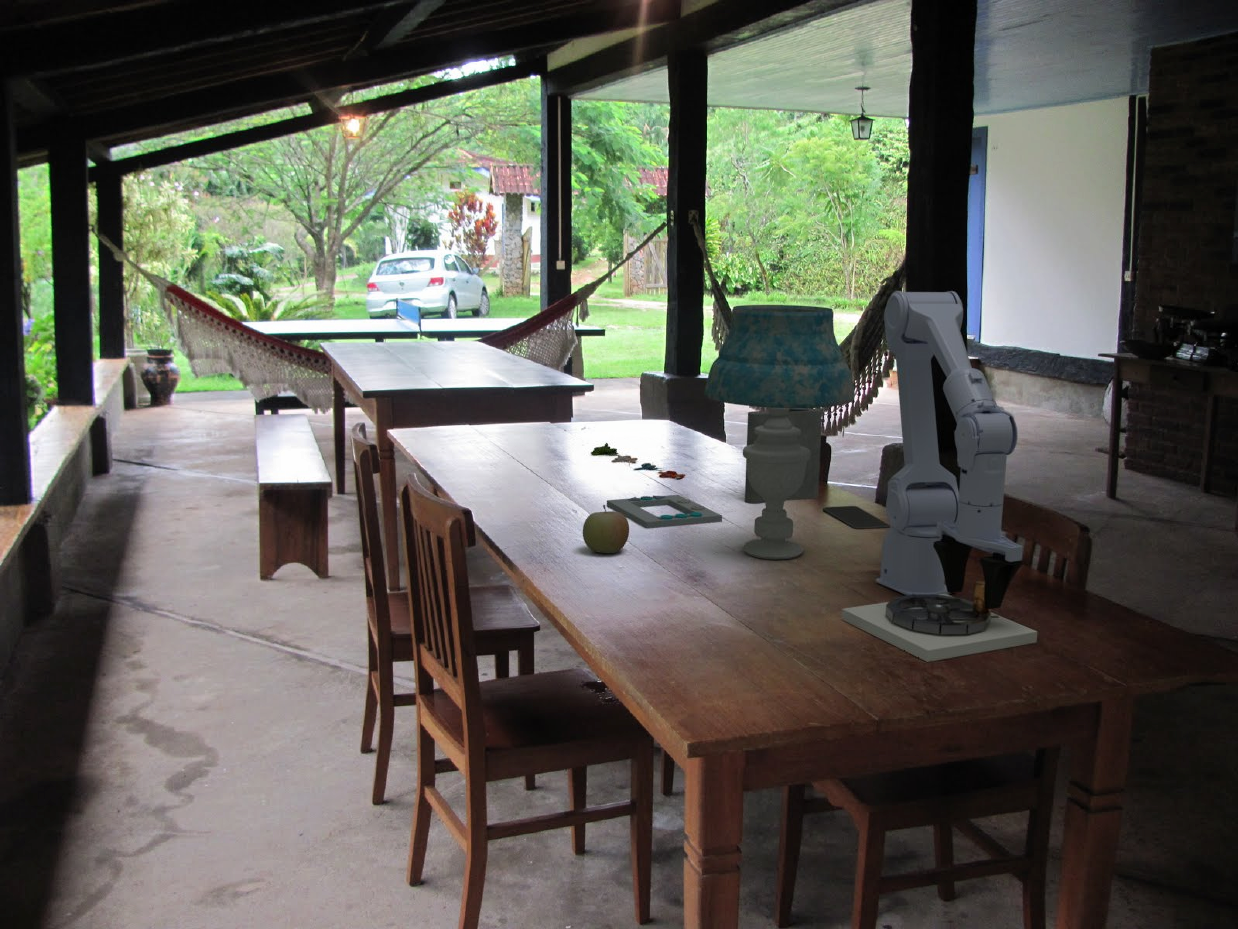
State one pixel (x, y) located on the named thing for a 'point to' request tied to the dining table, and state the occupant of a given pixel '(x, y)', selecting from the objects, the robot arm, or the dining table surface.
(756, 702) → the dining table surface
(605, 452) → the toy spaceship set
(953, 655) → the base plate
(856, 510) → the smartphone
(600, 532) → the fruit
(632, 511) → the picture frame
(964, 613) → the handwheel
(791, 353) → the table lamp
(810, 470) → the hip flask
